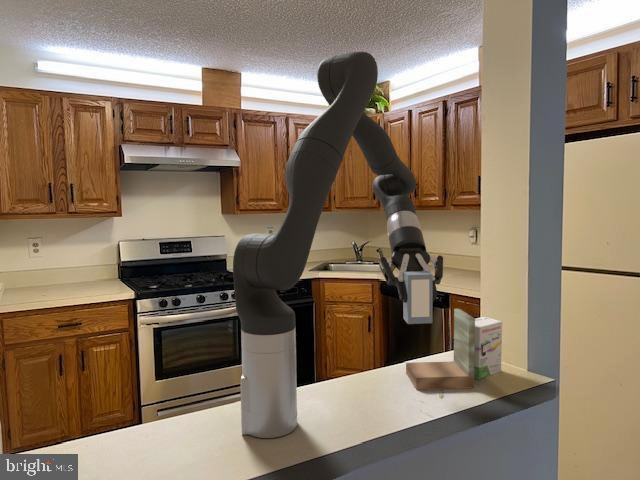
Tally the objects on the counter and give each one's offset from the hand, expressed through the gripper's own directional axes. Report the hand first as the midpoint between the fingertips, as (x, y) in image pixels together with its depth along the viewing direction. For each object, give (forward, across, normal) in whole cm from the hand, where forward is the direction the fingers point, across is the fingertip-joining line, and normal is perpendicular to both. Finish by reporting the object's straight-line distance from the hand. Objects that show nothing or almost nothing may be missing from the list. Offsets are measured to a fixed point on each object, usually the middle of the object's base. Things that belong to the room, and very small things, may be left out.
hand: (419, 299), depth 94 cm
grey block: (+2, 0, +4) cm, 5 cm away
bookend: (+11, +5, +16) cm, 20 cm away
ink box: (+8, +16, +19) cm, 26 cm away
